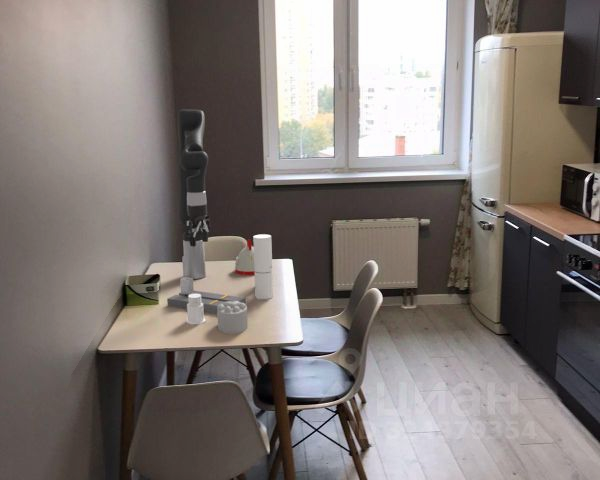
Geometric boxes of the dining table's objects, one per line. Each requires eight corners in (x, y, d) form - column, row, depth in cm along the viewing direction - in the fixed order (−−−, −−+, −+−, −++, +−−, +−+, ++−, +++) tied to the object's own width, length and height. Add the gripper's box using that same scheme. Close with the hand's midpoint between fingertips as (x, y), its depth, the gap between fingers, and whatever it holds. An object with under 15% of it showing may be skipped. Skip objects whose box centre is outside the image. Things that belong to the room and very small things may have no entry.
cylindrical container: (276, 295, 279) (274, 235, 273) (268, 300, 272) (266, 238, 267) (260, 293, 282) (258, 233, 276) (252, 298, 275) (250, 237, 270)
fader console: (167, 305, 268) (167, 297, 267) (187, 296, 279) (187, 288, 278) (227, 315, 255) (227, 306, 255) (246, 305, 267) (245, 296, 266)
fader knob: (181, 300, 271) (180, 278, 269) (186, 298, 273) (184, 276, 271) (189, 301, 269) (188, 279, 267) (194, 299, 271) (192, 277, 269)
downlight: (183, 319, 252) (182, 293, 249) (202, 316, 254) (201, 291, 252) (189, 326, 245) (187, 300, 242) (208, 323, 247) (207, 297, 245)
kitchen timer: (237, 276, 308) (236, 243, 305) (233, 268, 321) (231, 237, 318) (267, 273, 311) (266, 241, 308) (262, 266, 324) (261, 235, 321)
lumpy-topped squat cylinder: (246, 320, 249) (245, 297, 247) (248, 332, 237) (248, 308, 235) (217, 322, 248) (216, 299, 246) (218, 334, 235) (217, 310, 233)
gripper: (199, 200, 273) (201, 239, 276) (178, 205, 260) (180, 247, 264) (215, 200, 270) (217, 241, 273) (194, 206, 257) (197, 248, 260)
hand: (199, 244), depth 268 cm, fingers open, 8 cm apart
